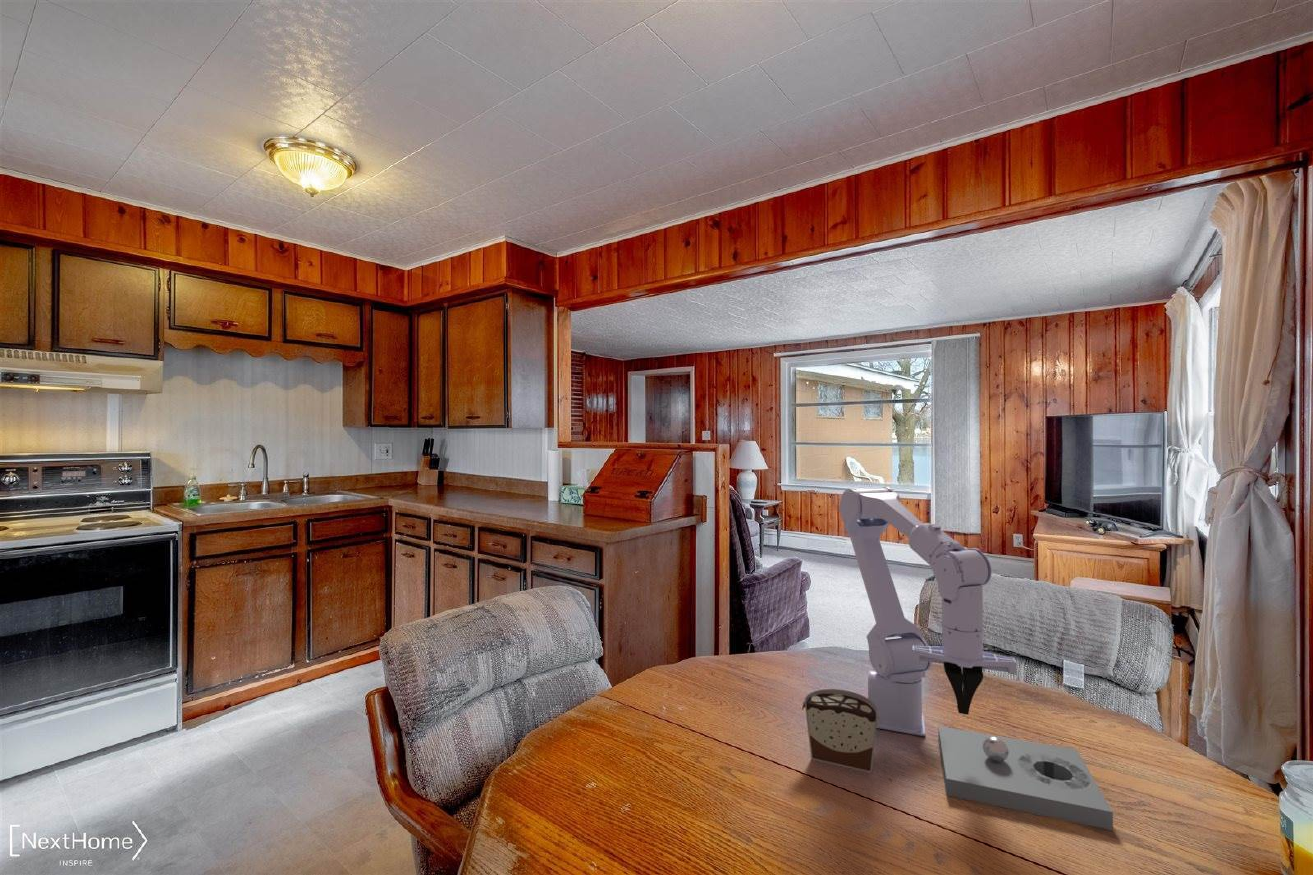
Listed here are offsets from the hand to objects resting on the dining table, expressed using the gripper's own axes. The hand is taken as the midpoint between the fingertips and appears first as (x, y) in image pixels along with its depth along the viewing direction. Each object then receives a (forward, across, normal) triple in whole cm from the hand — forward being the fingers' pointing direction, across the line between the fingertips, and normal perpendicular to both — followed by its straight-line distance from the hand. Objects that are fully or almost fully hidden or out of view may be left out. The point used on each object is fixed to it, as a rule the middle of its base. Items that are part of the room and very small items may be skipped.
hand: (962, 711), depth 90 cm
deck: (+9, +7, 0) cm, 12 cm away
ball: (+5, +4, 0) cm, 7 cm away
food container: (+10, -18, -3) cm, 21 cm away
